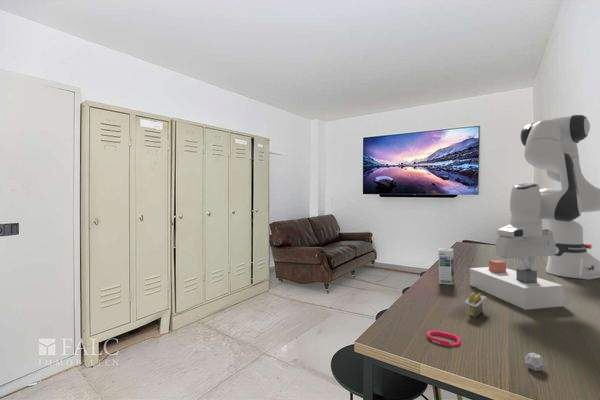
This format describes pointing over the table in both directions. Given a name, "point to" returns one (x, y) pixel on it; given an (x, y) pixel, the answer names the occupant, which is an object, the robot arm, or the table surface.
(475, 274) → the block
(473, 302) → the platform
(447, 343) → the fitness band
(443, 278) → the syrup box
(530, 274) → the gray rectangular block
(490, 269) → the red plug
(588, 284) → the table surface
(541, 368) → the grey irregular lump
